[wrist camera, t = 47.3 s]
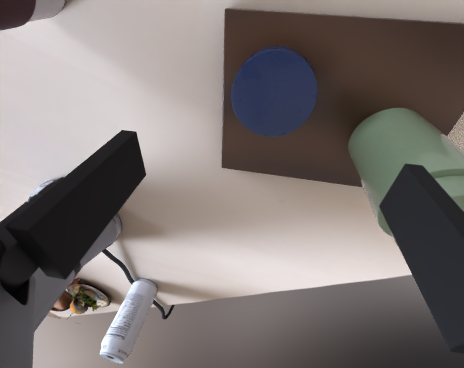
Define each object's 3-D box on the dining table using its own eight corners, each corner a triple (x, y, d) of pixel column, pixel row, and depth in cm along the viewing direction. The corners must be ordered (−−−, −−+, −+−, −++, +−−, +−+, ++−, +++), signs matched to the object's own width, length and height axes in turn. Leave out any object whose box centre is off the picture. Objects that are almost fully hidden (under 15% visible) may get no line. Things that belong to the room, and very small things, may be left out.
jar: (404, 173, 25) (472, 271, 16) (338, 165, 26) (368, 254, 17) (444, 111, 21) (568, 197, 12) (363, 103, 22) (422, 178, 13)
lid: (267, 24, 19) (265, 26, 18) (334, 81, 21) (338, 88, 19) (220, 99, 24) (215, 106, 22) (278, 141, 25) (278, 151, 24)
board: (403, 187, 28) (407, 193, 27) (223, 162, 30) (221, 168, 29) (510, 25, 18) (523, 27, 17) (227, 8, 20) (224, 8, 19)
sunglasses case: (54, 286, 66) (47, 313, 63) (77, 286, 72) (72, 310, 69) (16, 287, 72) (8, 312, 69) (40, 286, 78) (34, 309, 75)
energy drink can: (140, 289, 58) (104, 361, 47) (131, 276, 55) (90, 350, 43) (162, 291, 57) (131, 366, 45) (154, 278, 53) (118, 355, 42)
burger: (119, 303, 66) (104, 331, 60) (85, 298, 69) (67, 325, 63) (100, 280, 59) (80, 310, 53) (62, 276, 62) (39, 305, 56)
